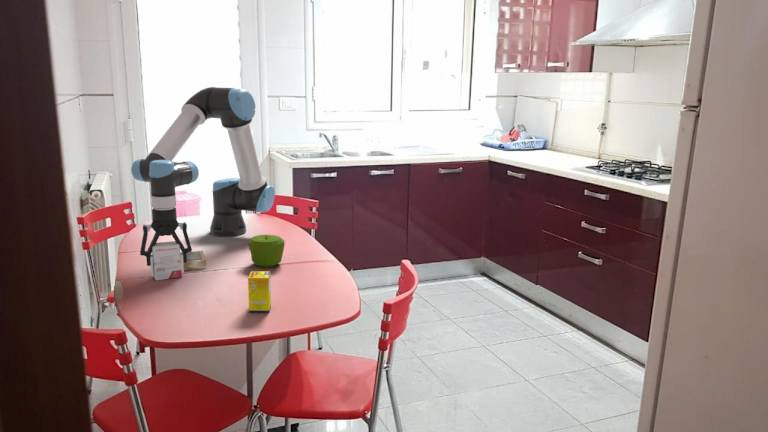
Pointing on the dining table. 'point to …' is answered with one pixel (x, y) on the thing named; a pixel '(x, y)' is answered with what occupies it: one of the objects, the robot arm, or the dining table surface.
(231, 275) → the dining table surface
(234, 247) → the dining table surface
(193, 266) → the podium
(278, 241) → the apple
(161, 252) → the ink box
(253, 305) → the supplement box
